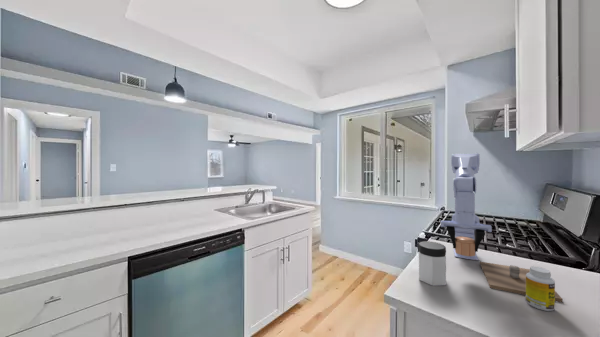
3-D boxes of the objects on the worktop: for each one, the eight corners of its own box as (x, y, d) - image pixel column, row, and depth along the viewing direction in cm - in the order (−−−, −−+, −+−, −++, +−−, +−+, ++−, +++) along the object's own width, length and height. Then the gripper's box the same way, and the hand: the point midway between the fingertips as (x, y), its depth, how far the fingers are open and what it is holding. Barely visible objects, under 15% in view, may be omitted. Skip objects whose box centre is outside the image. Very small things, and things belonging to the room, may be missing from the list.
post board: (479, 263, 90) (479, 252, 90) (536, 273, 82) (536, 260, 82) (490, 287, 73) (490, 273, 73) (562, 302, 65) (562, 286, 65)
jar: (447, 289, 73) (447, 251, 73) (418, 283, 77) (418, 247, 76) (445, 276, 81) (444, 242, 80) (419, 271, 85) (418, 239, 84)
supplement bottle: (552, 314, 60) (552, 276, 60) (523, 304, 64) (523, 268, 64) (556, 307, 63) (557, 270, 63) (528, 297, 68) (528, 263, 67)
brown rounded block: (454, 249, 85) (454, 235, 85) (473, 251, 82) (473, 237, 82) (455, 254, 80) (455, 240, 80) (475, 257, 77) (475, 242, 77)
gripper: (440, 211, 81) (440, 249, 81) (493, 215, 74) (493, 257, 74) (440, 207, 87) (440, 243, 88) (489, 211, 80) (489, 249, 80)
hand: (464, 249), depth 81 cm, fingers closed on brown rounded block, 6 cm apart
